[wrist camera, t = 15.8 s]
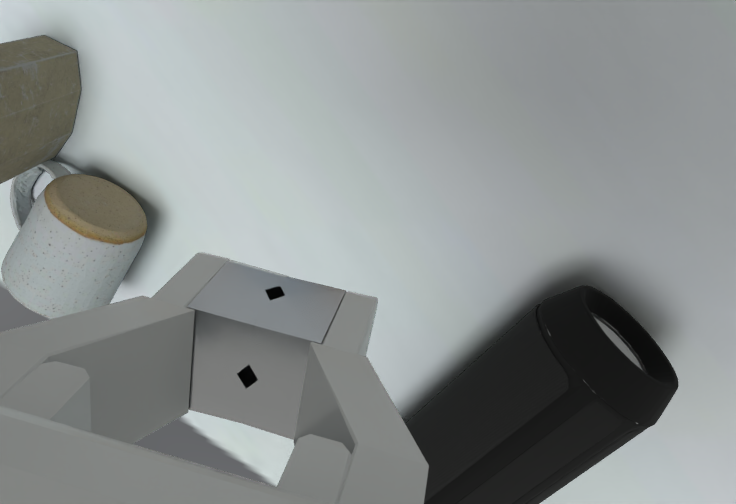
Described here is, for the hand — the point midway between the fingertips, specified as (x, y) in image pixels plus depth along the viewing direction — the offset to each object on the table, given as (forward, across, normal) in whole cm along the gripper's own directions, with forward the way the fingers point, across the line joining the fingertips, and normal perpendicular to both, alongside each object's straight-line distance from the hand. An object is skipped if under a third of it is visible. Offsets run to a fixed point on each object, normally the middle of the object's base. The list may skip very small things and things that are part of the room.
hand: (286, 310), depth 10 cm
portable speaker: (+31, -10, +25) cm, 41 cm away
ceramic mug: (+30, +23, +17) cm, 42 cm away
